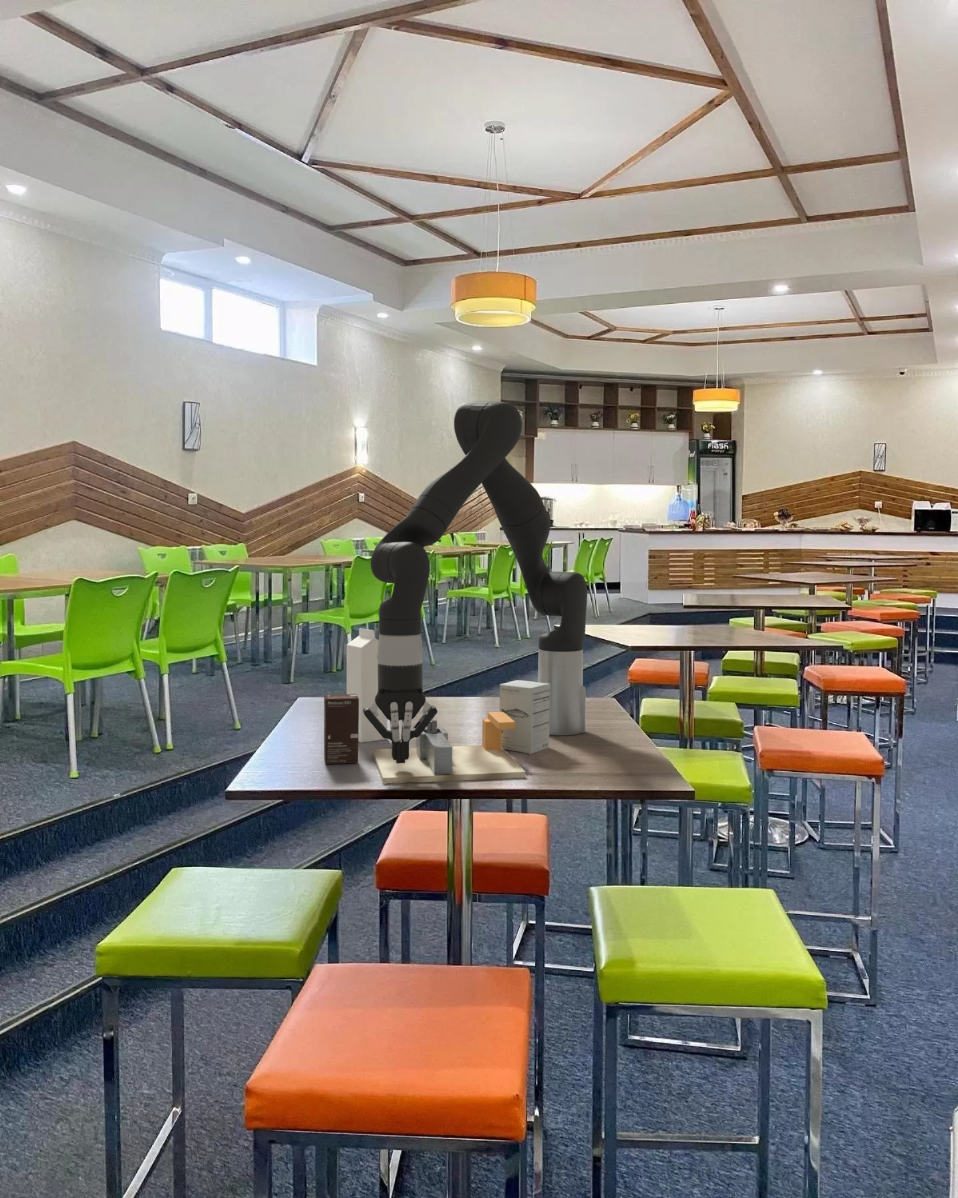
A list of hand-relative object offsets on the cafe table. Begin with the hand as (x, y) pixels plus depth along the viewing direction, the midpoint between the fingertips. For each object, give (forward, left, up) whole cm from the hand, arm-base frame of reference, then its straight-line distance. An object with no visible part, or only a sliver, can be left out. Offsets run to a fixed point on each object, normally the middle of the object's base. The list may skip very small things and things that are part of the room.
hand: (400, 762), depth 161 cm
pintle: (-7, -9, -2) cm, 11 cm away
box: (+9, -12, -3) cm, 15 cm away
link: (-7, -3, -1) cm, 8 cm away
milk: (+3, -31, -3) cm, 31 cm away
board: (-9, -6, -2) cm, 11 cm away
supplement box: (-26, -17, -3) cm, 31 cm away
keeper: (-19, -10, -2) cm, 21 cm away
